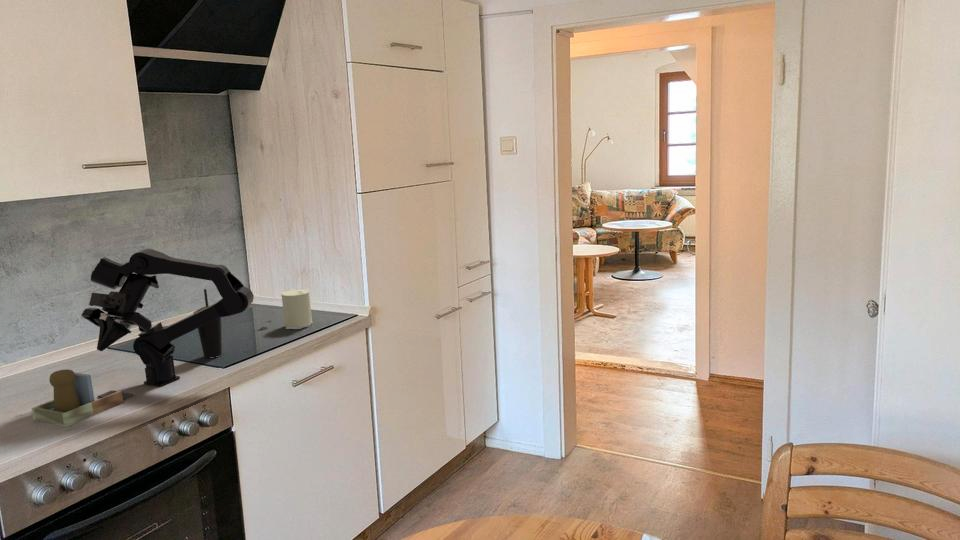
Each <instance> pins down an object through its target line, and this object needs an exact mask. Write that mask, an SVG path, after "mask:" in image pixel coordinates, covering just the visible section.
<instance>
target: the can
mask: <svg viewBox="0 0 960 540" xmlns="http://www.w3.org/2000/svg"><path fill="white" fill-rule="evenodd" d="M280 295H281V302H282V310H283V311H282V312H283V313H282V314H283V319H284V320H283V323H284V326H286V327H302V326H307V325H310V324H311V323H313V318H312V307H311V296H310V290H309V289H305V288H304V289H299V288H298V289H291V290H285V291H283V292H281V294H280Z"/></svg>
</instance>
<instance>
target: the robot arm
mask: <svg viewBox="0 0 960 540" xmlns="http://www.w3.org/2000/svg"><path fill="white" fill-rule="evenodd" d="M167 274H168V275H174V276H181V277H186V278H187V277H188V278H194V279H199V280H205V281H211V282H212V283H213V284H214V285H215V287H216V290H217V291H218V293H219V295H220V297H221V299H219V300H218V301H217V302H214V303H212V304H211V305H208V306H209V307H207V308H204V309H202V310H200V311H198V312H196V313H194V312H193V313H192V314H190V315H188V316H186V317H184V318H182V319H180V320H177V321H175V322H174V323H171V324H169V325H164V326H163V324H162V322H158V323H157V324H156V325H154V326H153V325H152V321H151V320H150V319H149V318H148V317H146V316H145V315H143V314H141V313H140V312H138V311H137V310H138V309H143V307H144V304H143V303H142V301H143V299H144V297H145V296H146V294H147V292H148V290H149V289H150V287H152V288H154V289H159V288H160V285H159V282H158V278H157V275H167ZM149 275H151V276H149ZM90 281H91V282H93V283H95V284H98V285H100V286H103V287H106V288H108V289H111V291H110V292H109V293H108V294H107V293H98V292H91V295H90V299H89V303H88V306H91V307H88V308H87V307H86V308H84V310H83V311H82V313H81V315H80V316H81V318H84V319H85V320H86V321H88V322H90V323H91V324H93V325H94V326H96V327H99V332H98V333H99V334H98V340H97V344H96V345H97V347H96V350H97V351H99V352H103V351H104V350H106V349H107V348H109V347H110V346H112V345H113V344H114V343H116V342H117V341H119V340H120V339H122V338H124V337H125V336H127V335H129V334H131V333H132V331H131V328H132V326H138V331H139V332H140V333H138V335H137V336H138V337H136V339H135V340H134V341H133V344H132V347H133V352H134V353H135V354H136V355H138V356H139V358H140V360H141V361H142V363H143V365H145V368H144V373H145V379H146V380H145V381H143V384H144V385H151V386H158V387H162V386H165V385H167V384H169V383H172V382H175V381H177V380H179V379H181V376H180V375H176V371H175V362H174V355H173V354H174V353H175V349H176V346H175V345H174V344H173V343H172V341H174V340H176V339H178V338H180V337H182V336H184V335H186V334H188V333H191V332H193V331H195V330H198V328H199V327H201V326H203V325H205V324H207V323H209V322H212V321H214V320H216V319H218V318H220V317H221V318H225V317H230V316H235V315H239V314H241V313H243V312H245V311H246V310H247V309H248V308H249V307H250V306H251V305H252V303H253V302H254V299H255V298H254V294H253V292H252V290H251V289H250V288H249V287H246V286H245V285H244V284H243V282H242V281H241V280H240V279H239V278H237V276H235V275H234V274H233V273H232V272H231V271H230V269H229V268H228V267H227V266H226V265H223V264H214V263H207V262H200V261H196V260H189V259H182V258H176V257H173V256H169V255H168V254H166V253H164V252H161V251H158V250H155V249H153V248H145V249H142V250H140V251H137V252H135V253H134V254H132V255H131V256H130V258H129V260H128V261H127V262H126V263H123V264H122V263H119V262H116V261H114V260H111V259H110V258H108V257H106V256H105V257H102V258H100V259H99V262H98V263H97V264H96V266H95V268H94V269H93V270H92V272H91V274H90ZM118 288H120V289H119V291H114V290H116V289H118ZM112 290H113V291H112ZM93 306H94V307H93ZM95 307H99V308H95ZM100 308H101V309H100ZM136 311H137V312H136Z"/></svg>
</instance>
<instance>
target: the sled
mask: <svg viewBox="0 0 960 540" xmlns="http://www.w3.org/2000/svg"><path fill="white" fill-rule="evenodd" d="M74 373H75V382H74V385H75V388H76V391H77V394H78V397H79V400H80V403H81V406H83V405H85V404H88V403H90V402H93V401H95V400H96V399H95V394H94V388H93V387H94V386H93V381H92V375H91V374H86V373H79V372H74ZM50 410H53V411H54V408H52V409H50Z"/></svg>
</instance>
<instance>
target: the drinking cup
mask: <svg viewBox="0 0 960 540" xmlns="http://www.w3.org/2000/svg"><path fill="white" fill-rule="evenodd" d="M207 292H208V291H207V288H205V289H204V288H203V294H204V301H205V306H202V307H201V308H199V309H196V310H195V311H194V312H193V314H194V313H196V312H198V311H200V310H202V309H204V308H207V307H209V306H210V305H209V301H208V293H207ZM197 330H198V335H199V339H200V344H201V349H202V354H203V357H204V358H205V357H206V358H205V359H208V358H210V357H216V356H219V355H221V354H222V355H223V350H222V349H223V347H222V317H220V318H218V319H216V320H214V321H212V322H209V323H207V324H205V325H203V326H201V327H199V328H197ZM222 355H221V356H222ZM210 359H211V358H210Z"/></svg>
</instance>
